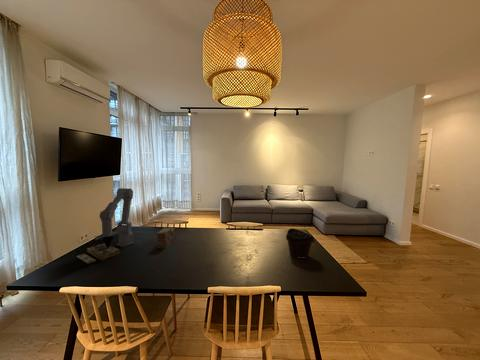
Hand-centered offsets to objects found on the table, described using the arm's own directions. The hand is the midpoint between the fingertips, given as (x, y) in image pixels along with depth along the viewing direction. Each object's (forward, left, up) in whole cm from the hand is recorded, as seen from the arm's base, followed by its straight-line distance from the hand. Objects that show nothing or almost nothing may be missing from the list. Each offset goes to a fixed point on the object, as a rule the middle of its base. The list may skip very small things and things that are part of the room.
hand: (107, 246), depth 147 cm
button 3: (0, 0, -5) cm, 5 cm away
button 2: (0, -6, -4) cm, 7 cm away
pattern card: (+11, -6, -6) cm, 14 cm away
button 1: (0, -13, -5) cm, 14 cm away
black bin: (-79, +109, -6) cm, 135 cm away
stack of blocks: (-38, +14, -7) cm, 41 cm away
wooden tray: (0, -6, -6) cm, 9 cm away
